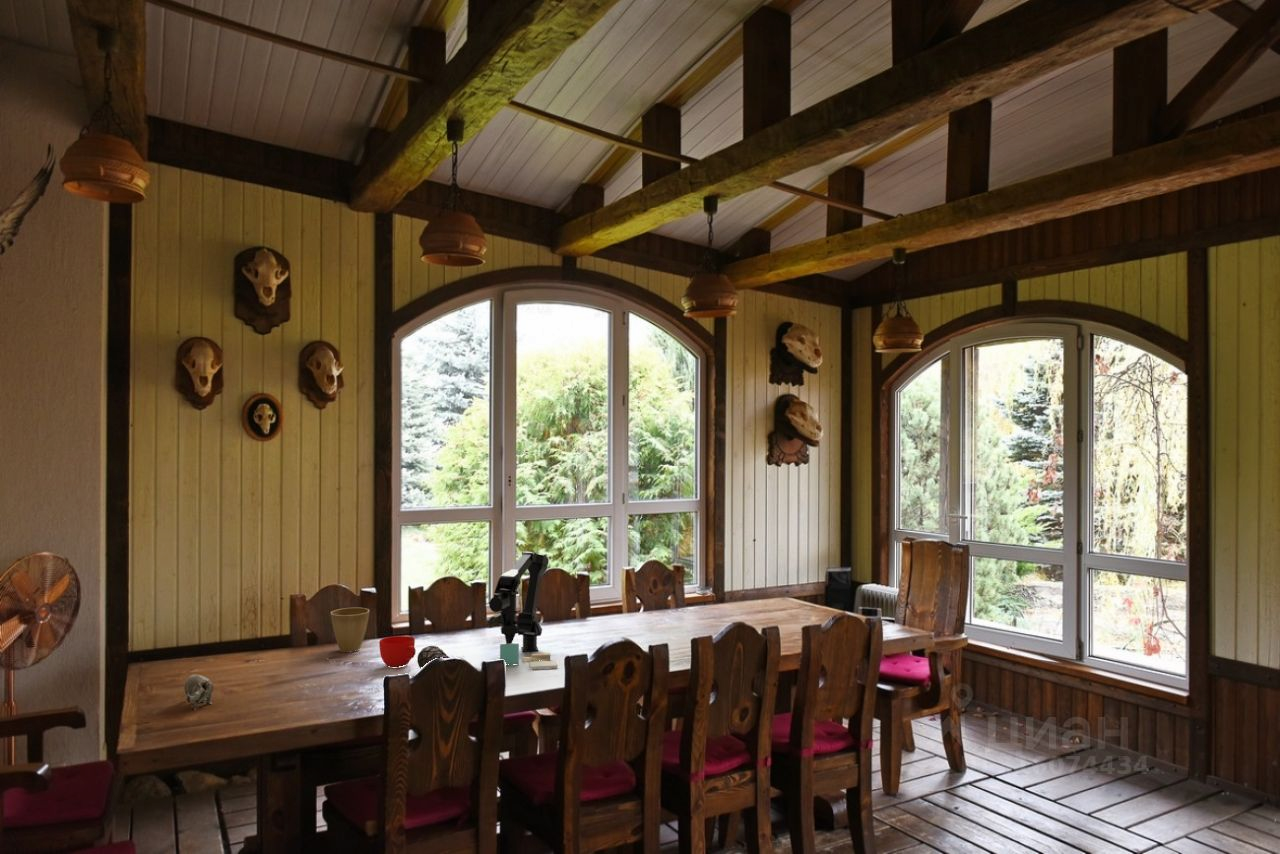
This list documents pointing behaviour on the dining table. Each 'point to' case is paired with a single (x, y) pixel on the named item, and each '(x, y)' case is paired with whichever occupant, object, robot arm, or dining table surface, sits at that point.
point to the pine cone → (429, 655)
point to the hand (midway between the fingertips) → (508, 647)
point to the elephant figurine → (198, 689)
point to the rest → (543, 664)
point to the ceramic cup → (397, 650)
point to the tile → (510, 653)
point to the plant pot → (349, 627)
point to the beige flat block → (537, 657)
